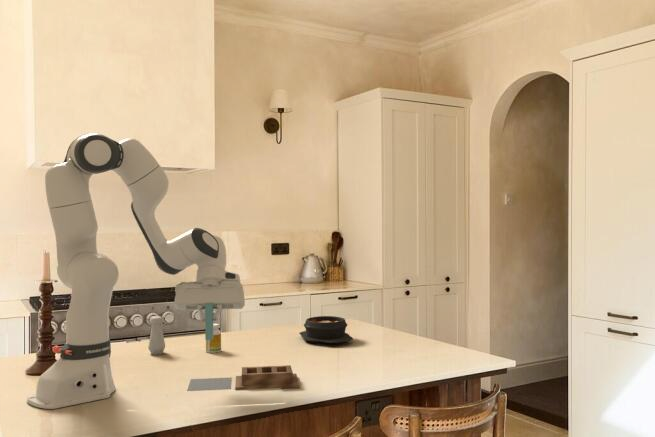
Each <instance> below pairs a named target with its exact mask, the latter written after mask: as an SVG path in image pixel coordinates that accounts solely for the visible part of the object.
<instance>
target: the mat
mask: <svg viewBox="0 0 655 437" xmlns="http://www.w3.org/2000/svg"><path fill="white" fill-rule="evenodd" d="M232 379H233V377H231V376H230V377H211V378H209V377H208V378H191V379H190V380H189V383H188V387H187V390H186V391H187V392H198V391H216V390H217V391H219V390H231V389H232Z"/></svg>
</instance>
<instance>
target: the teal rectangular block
mask: <svg viewBox="0 0 655 437" xmlns="http://www.w3.org/2000/svg"><path fill="white" fill-rule="evenodd" d="M204 313H205V321H204V324H205V326H204V328H205V333H204V334H205V335H204V337H205V338H204V340H205V341H206V340H213V324H214V321H213V313H214V309H213V303H206V304H205V310H204Z"/></svg>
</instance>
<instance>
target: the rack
mask: <svg viewBox="0 0 655 437" xmlns="http://www.w3.org/2000/svg"><path fill="white" fill-rule="evenodd" d="M300 384H301V383H300V380H299V378H298V374H297V373H293V369H292V366H291V365H290V364H288V365H268V366H267V365H266V366H264V365H263V366H244V367H241V375H235V385H234V390H235V391H240V390H261V389H262V390H263V389H264V390H265V389H280V390H286V389H287V390H289V389H291V390H292V389H300V388H301V385H300Z"/></svg>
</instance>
